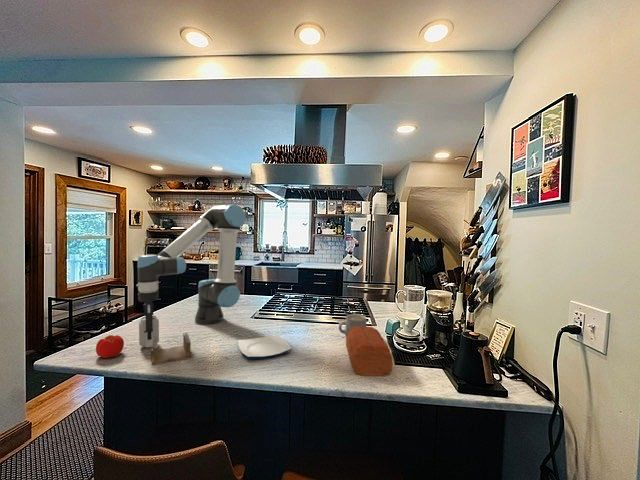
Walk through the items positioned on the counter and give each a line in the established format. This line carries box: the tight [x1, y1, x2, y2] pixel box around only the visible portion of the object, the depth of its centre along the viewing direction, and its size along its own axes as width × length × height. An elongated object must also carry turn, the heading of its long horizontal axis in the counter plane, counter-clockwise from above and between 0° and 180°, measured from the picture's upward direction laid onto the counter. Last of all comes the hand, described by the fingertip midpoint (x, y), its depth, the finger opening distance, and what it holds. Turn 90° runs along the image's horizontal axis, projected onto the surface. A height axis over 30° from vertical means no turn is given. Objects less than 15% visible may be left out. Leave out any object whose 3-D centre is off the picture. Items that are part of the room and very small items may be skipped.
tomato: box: [95, 334, 125, 359], centre depth 119 cm, size 9×9×8 cm
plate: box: [237, 333, 293, 360], centre depth 128 cm, size 20×20×3 cm
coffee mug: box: [338, 313, 367, 337], centre depth 144 cm, size 13×10×10 cm
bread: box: [345, 326, 394, 377], centre depth 120 cm, size 16×27×11 cm, turn 1°
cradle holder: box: [150, 332, 193, 366], centre depth 120 cm, size 14×12×7 cm
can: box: [138, 315, 160, 348], centre depth 128 cm, size 8×8×12 cm
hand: (149, 343), depth 128 cm, fingers closed on can, 7 cm apart
